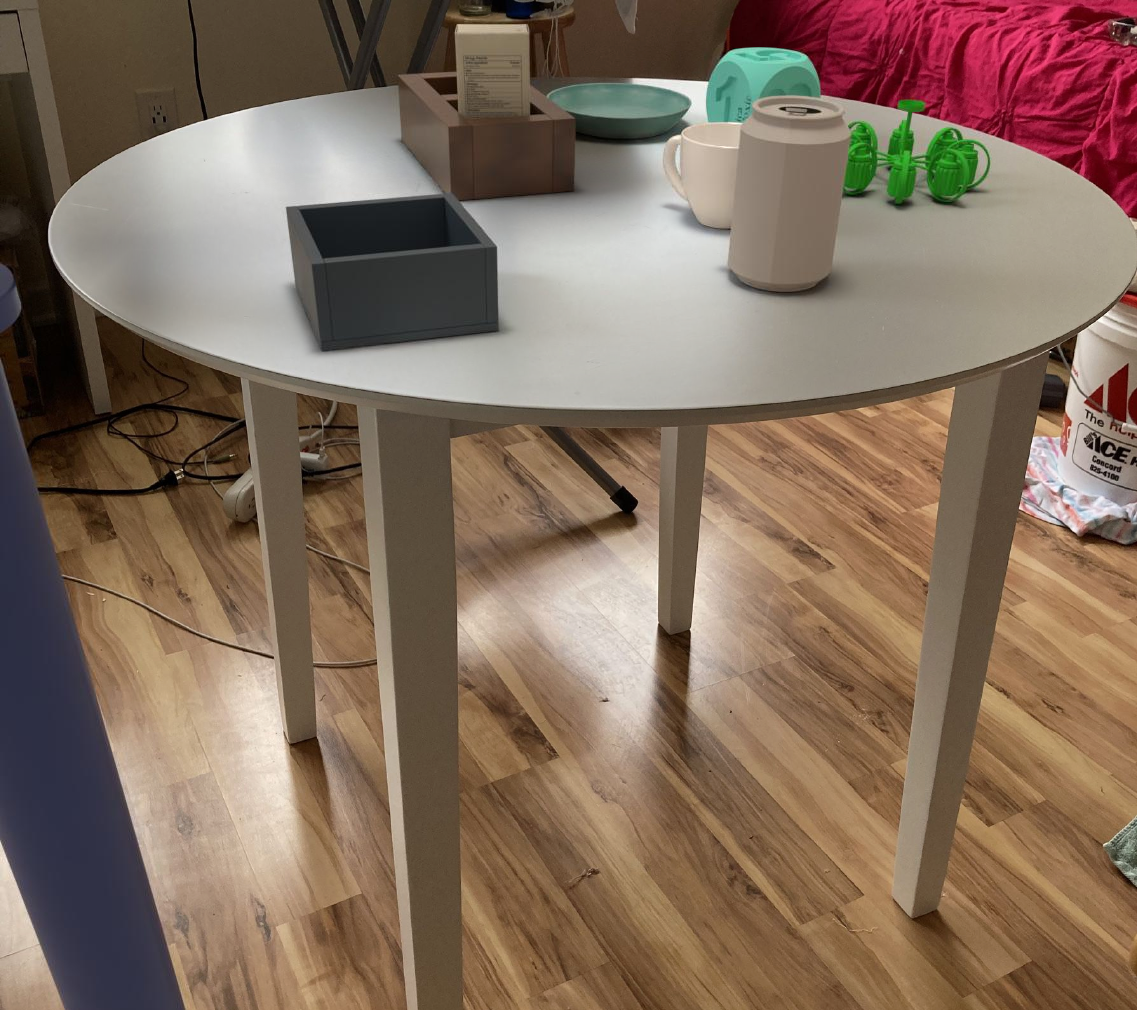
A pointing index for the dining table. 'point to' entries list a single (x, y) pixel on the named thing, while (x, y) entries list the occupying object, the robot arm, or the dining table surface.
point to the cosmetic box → (492, 70)
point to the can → (788, 192)
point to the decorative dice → (757, 81)
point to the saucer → (621, 109)
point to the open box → (393, 270)
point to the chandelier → (913, 160)
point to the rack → (485, 142)
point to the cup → (706, 170)
